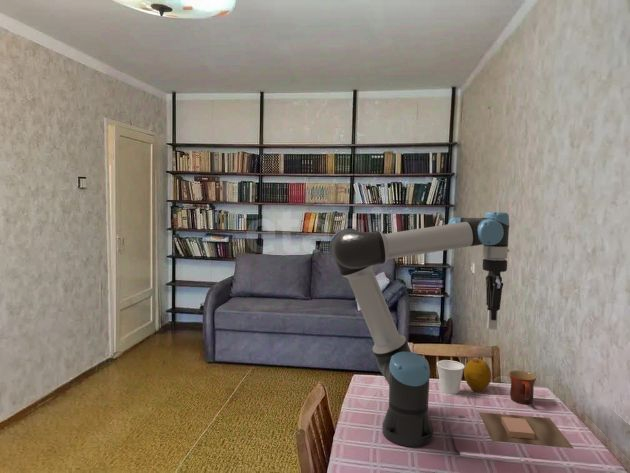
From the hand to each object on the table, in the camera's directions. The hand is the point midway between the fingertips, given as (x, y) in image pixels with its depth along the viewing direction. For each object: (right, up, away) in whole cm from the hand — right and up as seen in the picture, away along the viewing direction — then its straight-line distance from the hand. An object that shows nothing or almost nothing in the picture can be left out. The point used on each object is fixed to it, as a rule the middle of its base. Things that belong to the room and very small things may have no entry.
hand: (492, 328), depth 146 cm
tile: (+3, -27, -9) cm, 29 cm away
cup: (-10, -28, +16) cm, 33 cm away
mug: (+13, -28, +7) cm, 32 cm away
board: (+4, -29, -12) cm, 32 cm away
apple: (+2, -27, +20) cm, 34 cm away
